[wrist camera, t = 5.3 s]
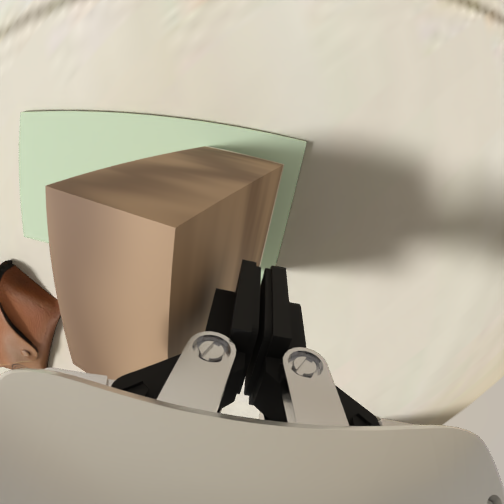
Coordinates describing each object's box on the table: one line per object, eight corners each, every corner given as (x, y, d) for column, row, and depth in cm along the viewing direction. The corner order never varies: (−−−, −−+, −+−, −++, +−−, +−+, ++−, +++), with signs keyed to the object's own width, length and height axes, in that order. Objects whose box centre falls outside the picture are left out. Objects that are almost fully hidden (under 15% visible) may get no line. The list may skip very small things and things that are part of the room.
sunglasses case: (49, 384, 32) (11, 399, 26) (28, 344, 34) (-9, 355, 28) (67, 302, 25) (7, 318, 19) (41, 253, 27) (-12, 261, 21)
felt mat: (306, 141, 18) (306, 141, 18) (268, 288, 23) (268, 291, 23) (23, 111, 17) (20, 112, 17) (26, 234, 22) (24, 236, 22)
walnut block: (284, 164, 17) (175, 228, 7) (256, 280, 21) (167, 418, 10) (206, 145, 18) (45, 186, 8) (190, 257, 22) (72, 363, 11)
